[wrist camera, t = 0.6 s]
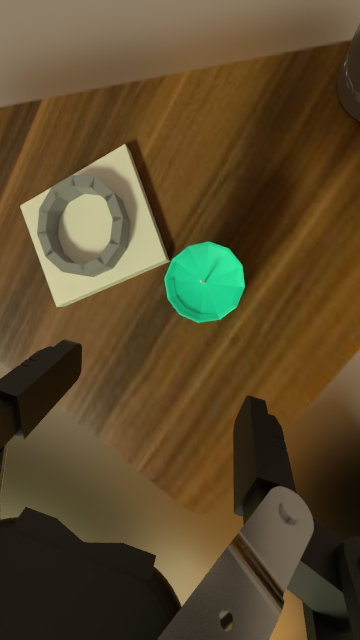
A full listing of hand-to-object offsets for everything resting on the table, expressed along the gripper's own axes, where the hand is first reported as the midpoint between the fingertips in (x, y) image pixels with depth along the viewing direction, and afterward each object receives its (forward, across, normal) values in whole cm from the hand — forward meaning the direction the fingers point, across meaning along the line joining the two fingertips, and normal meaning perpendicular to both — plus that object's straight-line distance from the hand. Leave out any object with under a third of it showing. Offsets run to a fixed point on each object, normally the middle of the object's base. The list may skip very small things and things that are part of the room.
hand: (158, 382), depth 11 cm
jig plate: (+21, +15, -1) cm, 26 cm away
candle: (+19, -2, +1) cm, 19 cm away
